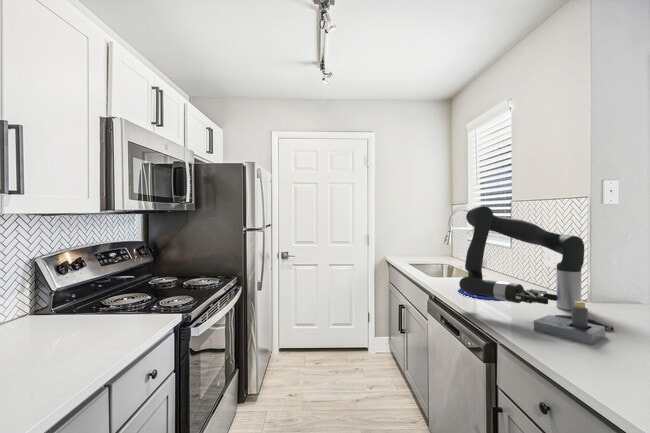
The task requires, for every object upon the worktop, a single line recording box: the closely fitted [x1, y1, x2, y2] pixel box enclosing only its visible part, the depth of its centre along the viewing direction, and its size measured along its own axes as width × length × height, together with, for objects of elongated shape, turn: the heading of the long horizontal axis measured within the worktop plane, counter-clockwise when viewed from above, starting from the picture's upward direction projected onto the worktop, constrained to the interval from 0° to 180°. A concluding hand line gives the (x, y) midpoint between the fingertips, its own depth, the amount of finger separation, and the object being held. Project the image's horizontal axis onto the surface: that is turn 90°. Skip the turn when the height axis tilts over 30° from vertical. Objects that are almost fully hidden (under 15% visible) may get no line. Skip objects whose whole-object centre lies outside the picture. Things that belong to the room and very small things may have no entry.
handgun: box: [554, 314, 615, 332], centre depth 137 cm, size 2×16×12 cm
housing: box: [533, 314, 606, 346], centre depth 127 cm, size 13×18×4 cm
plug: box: [571, 300, 589, 330], centre depth 124 cm, size 4×4×12 cm
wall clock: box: [457, 288, 504, 302], centre depth 189 cm, size 30×6×30 cm
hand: (552, 299), depth 131 cm, fingers open, 8 cm apart
